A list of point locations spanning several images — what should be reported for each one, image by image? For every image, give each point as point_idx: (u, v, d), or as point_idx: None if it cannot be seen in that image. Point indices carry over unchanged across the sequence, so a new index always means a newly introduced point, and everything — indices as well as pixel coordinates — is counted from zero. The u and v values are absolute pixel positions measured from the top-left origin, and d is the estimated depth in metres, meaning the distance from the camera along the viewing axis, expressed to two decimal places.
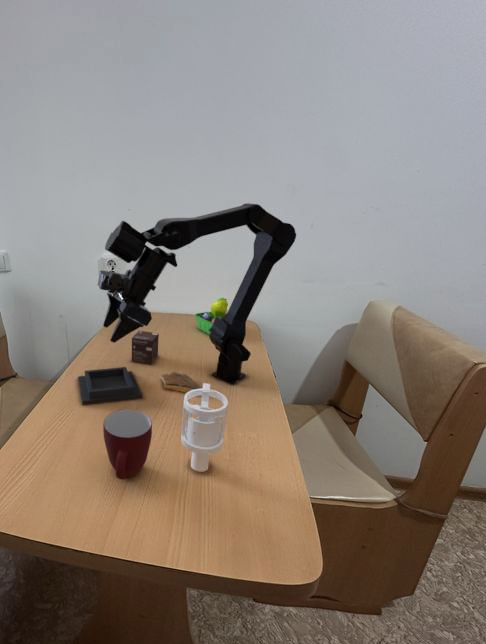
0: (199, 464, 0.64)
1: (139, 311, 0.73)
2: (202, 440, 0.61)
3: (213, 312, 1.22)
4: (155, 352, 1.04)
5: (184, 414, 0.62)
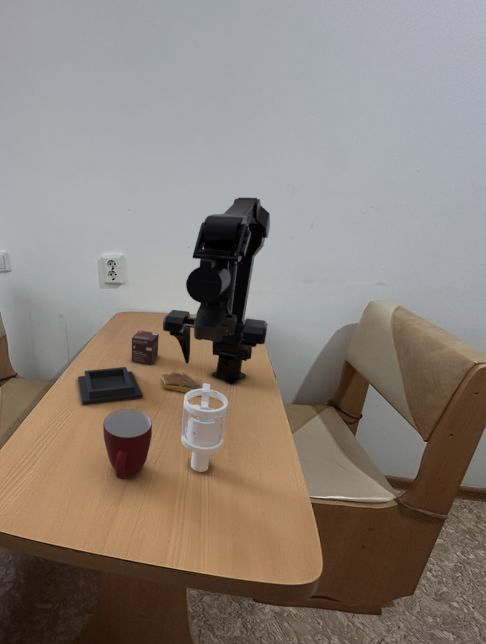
0: (199, 464, 0.64)
1: (266, 329, 0.67)
2: (203, 440, 0.61)
3: None
4: (155, 352, 1.04)
5: (184, 414, 0.62)
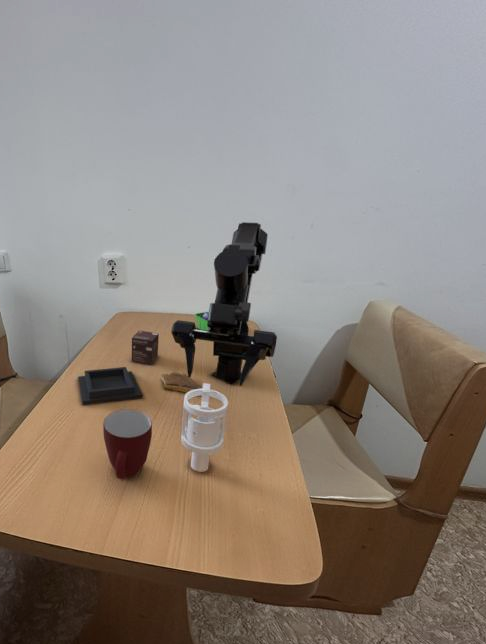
0: (199, 464, 0.64)
1: None
2: (203, 440, 0.61)
3: None
4: (155, 352, 1.04)
5: (184, 414, 0.62)
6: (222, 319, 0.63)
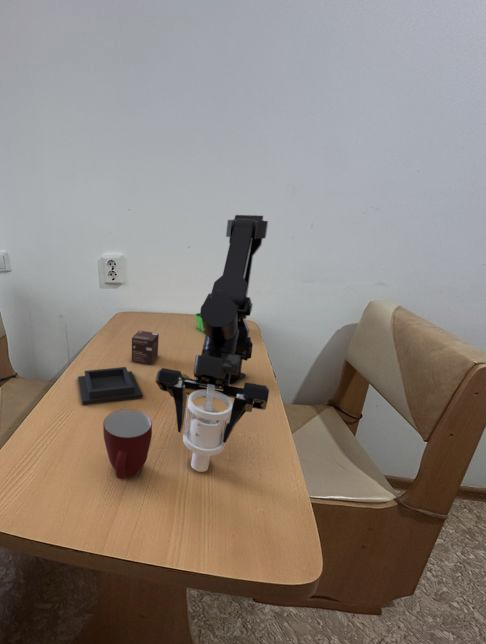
0: (199, 464, 0.64)
1: None
2: (205, 441, 0.60)
3: None
4: (155, 352, 1.04)
5: (187, 415, 0.61)
6: (209, 373, 0.58)
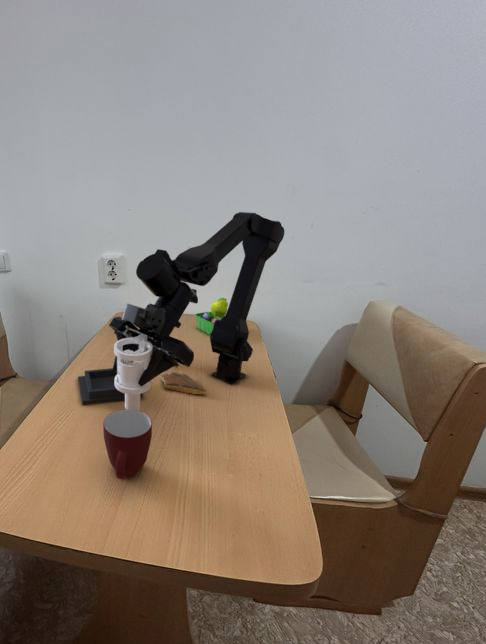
0: (127, 403, 0.73)
1: (188, 351, 0.65)
2: (123, 380, 0.69)
3: (213, 312, 1.22)
4: None
5: None
6: (129, 319, 0.66)
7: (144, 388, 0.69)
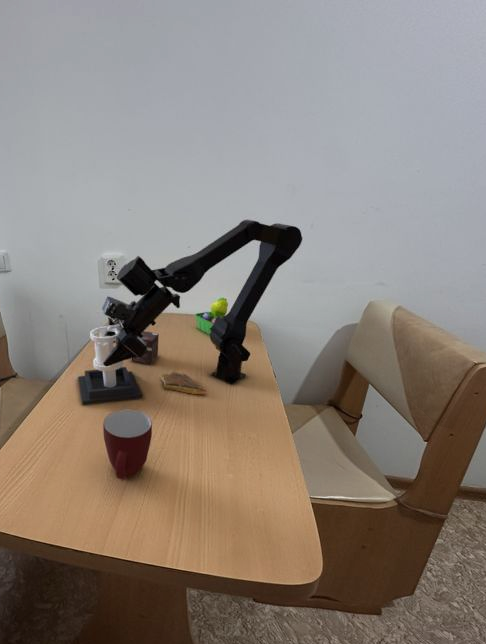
0: None
1: (136, 343, 0.77)
2: (96, 358, 0.87)
3: (213, 312, 1.22)
4: (155, 352, 1.04)
5: None
6: (103, 309, 0.82)
7: (109, 367, 0.85)
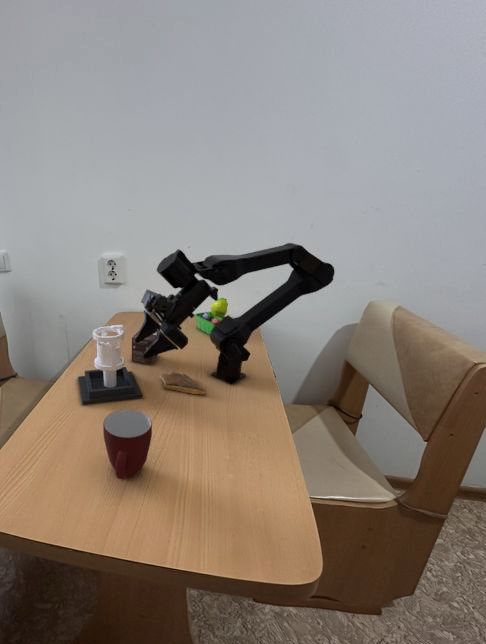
0: None
1: (179, 335, 0.78)
2: (97, 357, 0.87)
3: (213, 312, 1.22)
4: None
5: None
6: (143, 302, 0.84)
7: (110, 367, 0.85)
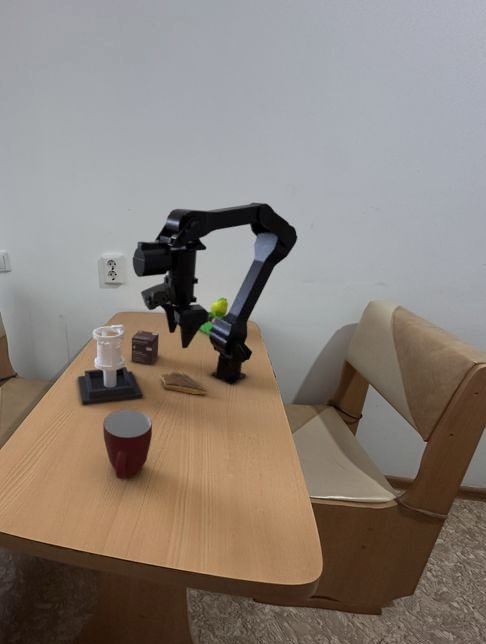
0: None
1: (194, 314, 0.73)
2: (98, 357, 0.87)
3: (213, 312, 1.22)
4: (155, 352, 1.04)
5: None
6: None
7: (110, 367, 0.85)
